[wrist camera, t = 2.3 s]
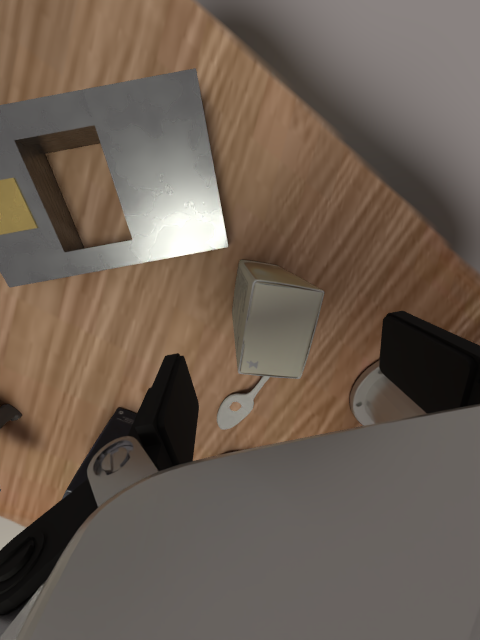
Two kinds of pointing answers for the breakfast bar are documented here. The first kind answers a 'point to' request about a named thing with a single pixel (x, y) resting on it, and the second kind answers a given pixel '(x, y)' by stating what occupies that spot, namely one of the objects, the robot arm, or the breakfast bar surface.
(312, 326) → the skincare box
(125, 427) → the small box
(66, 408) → the breakfast bar surface
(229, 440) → the breakfast bar surface
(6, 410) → the giant panda
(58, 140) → the grey slotted base block
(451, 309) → the breakfast bar surface
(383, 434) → the robot arm
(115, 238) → the breakfast bar surface
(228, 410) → the spoon
